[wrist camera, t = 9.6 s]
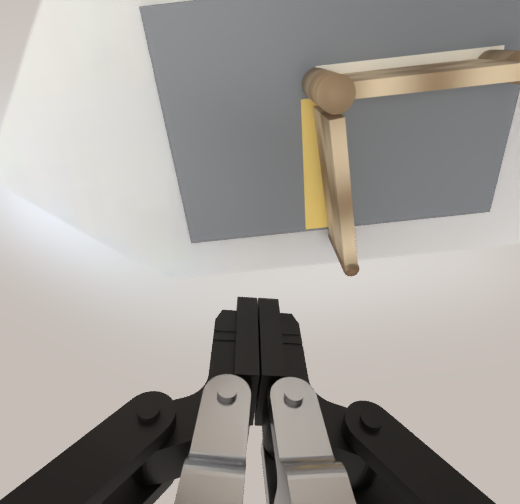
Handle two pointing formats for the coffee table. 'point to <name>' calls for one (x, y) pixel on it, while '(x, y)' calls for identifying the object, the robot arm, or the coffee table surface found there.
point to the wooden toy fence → (409, 79)
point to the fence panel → (337, 186)
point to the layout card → (301, 107)
